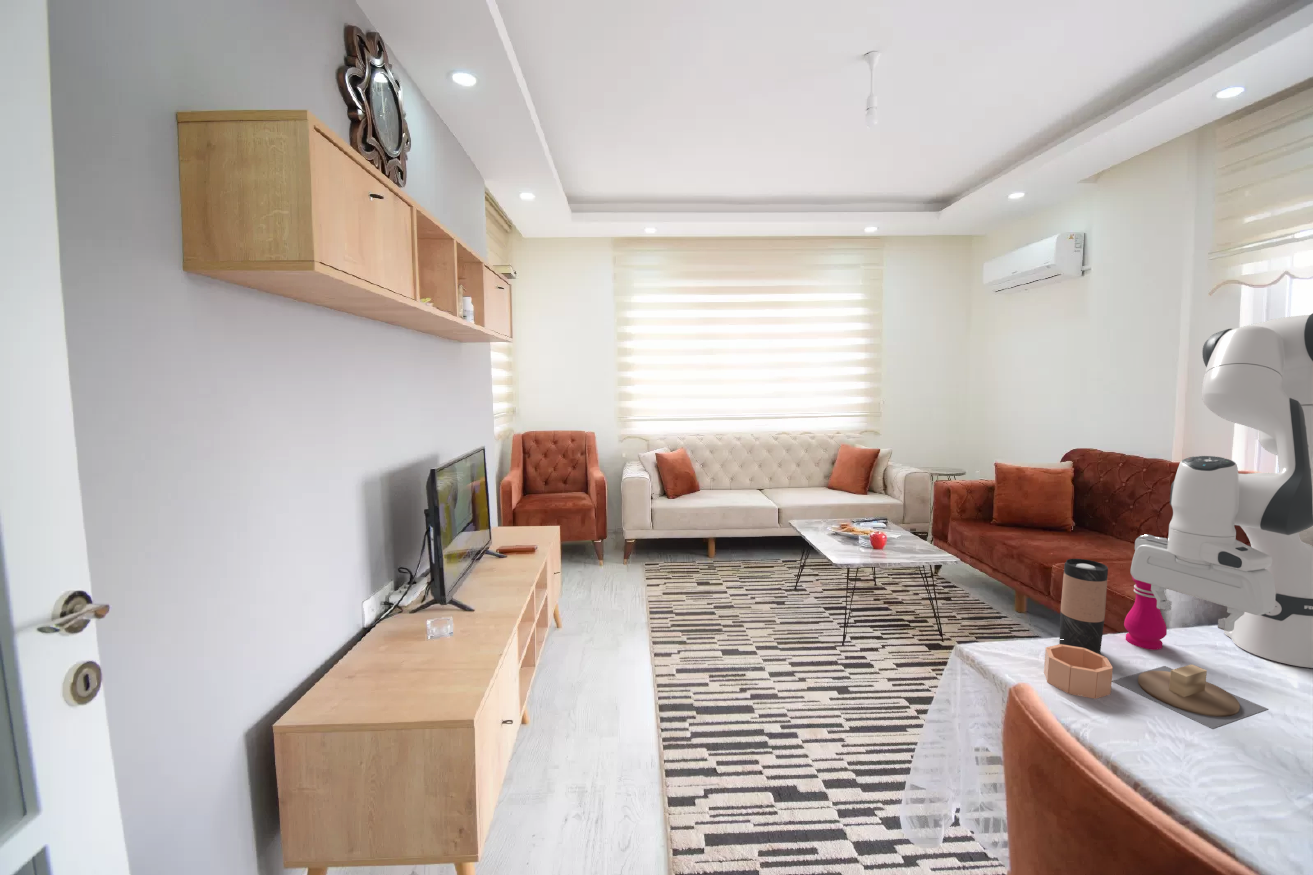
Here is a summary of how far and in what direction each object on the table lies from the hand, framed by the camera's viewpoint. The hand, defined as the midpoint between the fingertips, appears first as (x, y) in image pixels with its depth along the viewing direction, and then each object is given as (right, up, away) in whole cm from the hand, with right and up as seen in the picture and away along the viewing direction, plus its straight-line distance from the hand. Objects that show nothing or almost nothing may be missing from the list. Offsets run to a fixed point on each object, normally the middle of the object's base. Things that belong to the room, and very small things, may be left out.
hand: (1193, 619), depth 106 cm
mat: (0, -16, +2) cm, 16 cm away
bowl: (-17, -15, +7) cm, 24 cm away
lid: (0, -15, +2) cm, 15 cm away
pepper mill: (+9, -13, +22) cm, 27 cm away
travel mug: (-7, -14, +20) cm, 25 cm away
